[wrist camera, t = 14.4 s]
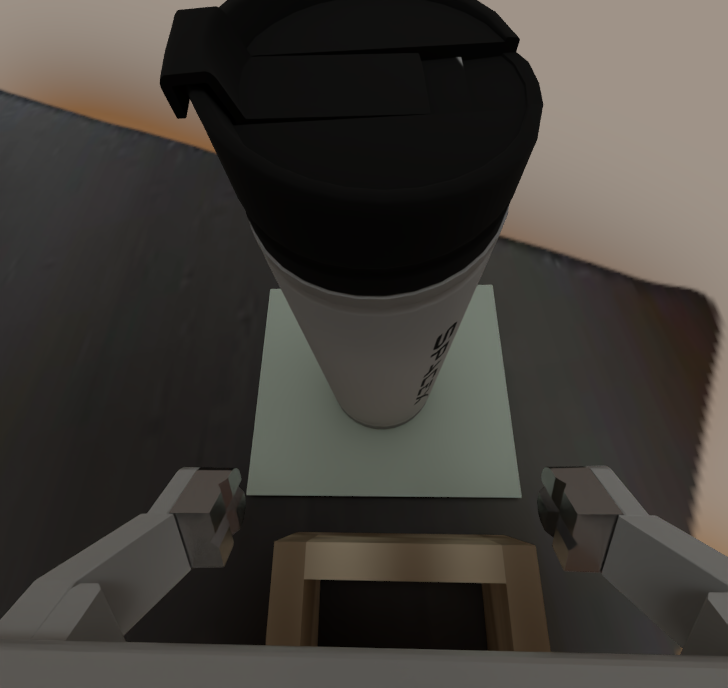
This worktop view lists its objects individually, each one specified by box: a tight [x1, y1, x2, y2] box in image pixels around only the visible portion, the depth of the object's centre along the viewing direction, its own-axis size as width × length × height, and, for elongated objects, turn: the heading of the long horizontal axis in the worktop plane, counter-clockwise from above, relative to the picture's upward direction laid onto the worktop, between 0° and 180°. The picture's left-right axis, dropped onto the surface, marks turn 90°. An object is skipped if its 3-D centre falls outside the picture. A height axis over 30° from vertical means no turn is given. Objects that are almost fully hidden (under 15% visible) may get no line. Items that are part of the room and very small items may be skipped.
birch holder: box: [266, 532, 551, 652], centre depth 17 cm, size 12×12×5 cm
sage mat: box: [246, 285, 522, 498], centre depth 25 cm, size 16×14×1 cm
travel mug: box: [160, 0, 543, 429], centre depth 15 cm, size 6×7×20 cm
